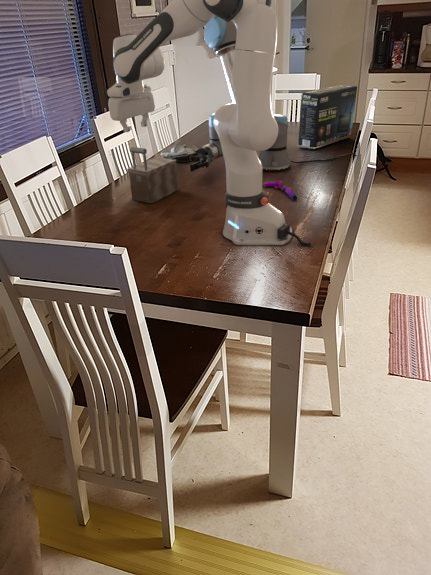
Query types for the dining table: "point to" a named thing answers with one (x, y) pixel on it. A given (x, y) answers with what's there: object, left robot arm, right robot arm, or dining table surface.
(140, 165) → the lid
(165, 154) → the fossil
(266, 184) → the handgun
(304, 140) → the router box
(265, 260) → the dining table surface
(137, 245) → the dining table surface
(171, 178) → the chest
